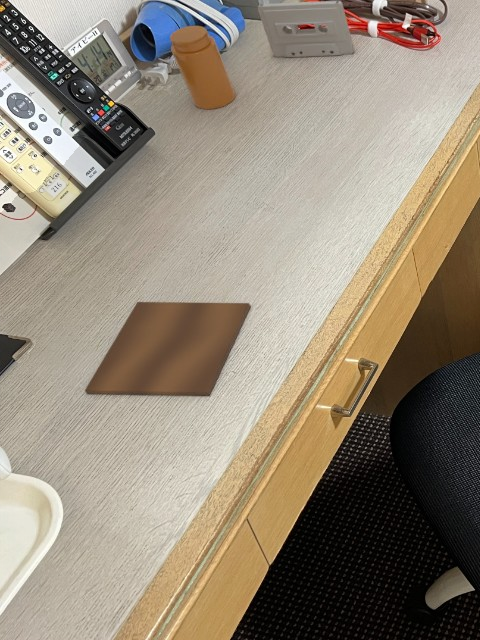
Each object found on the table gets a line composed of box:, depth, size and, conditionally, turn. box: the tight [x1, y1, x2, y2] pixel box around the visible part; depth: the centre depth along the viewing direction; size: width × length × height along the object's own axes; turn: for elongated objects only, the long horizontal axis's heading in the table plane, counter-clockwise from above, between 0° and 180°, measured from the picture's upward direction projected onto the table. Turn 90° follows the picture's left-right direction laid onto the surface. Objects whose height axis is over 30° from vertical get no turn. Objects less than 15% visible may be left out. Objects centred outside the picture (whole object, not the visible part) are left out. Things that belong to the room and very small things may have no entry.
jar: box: [169, 25, 237, 110], centre depth 111 cm, size 6×6×10 cm
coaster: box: [84, 301, 251, 397], centre depth 82 cm, size 12×12×1 cm
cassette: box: [257, 0, 355, 58], centre depth 120 cm, size 12×2×8 cm, turn 92°
